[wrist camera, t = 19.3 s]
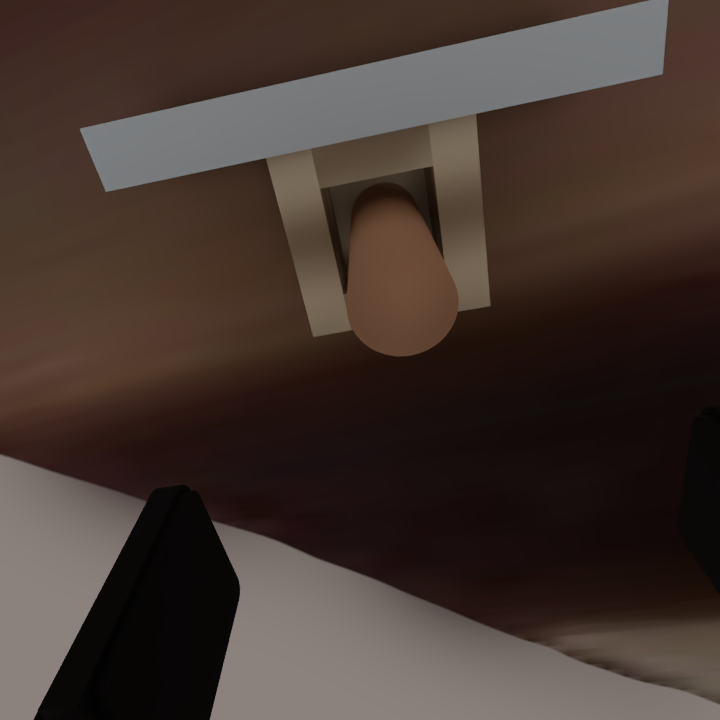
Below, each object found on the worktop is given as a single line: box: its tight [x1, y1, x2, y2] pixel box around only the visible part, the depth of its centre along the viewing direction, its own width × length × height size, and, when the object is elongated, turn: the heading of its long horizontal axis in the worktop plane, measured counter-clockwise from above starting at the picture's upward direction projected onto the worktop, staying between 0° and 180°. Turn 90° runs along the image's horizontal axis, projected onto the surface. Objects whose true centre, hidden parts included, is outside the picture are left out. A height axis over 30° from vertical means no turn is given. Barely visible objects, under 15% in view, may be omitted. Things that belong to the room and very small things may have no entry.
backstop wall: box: [80, 0, 669, 192], centre depth 23 cm, size 2×22×10 cm, turn 101°
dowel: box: [347, 182, 459, 356], centre depth 24 cm, size 4×4×14 cm
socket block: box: [266, 114, 490, 337], centre depth 28 cm, size 10×10×6 cm
